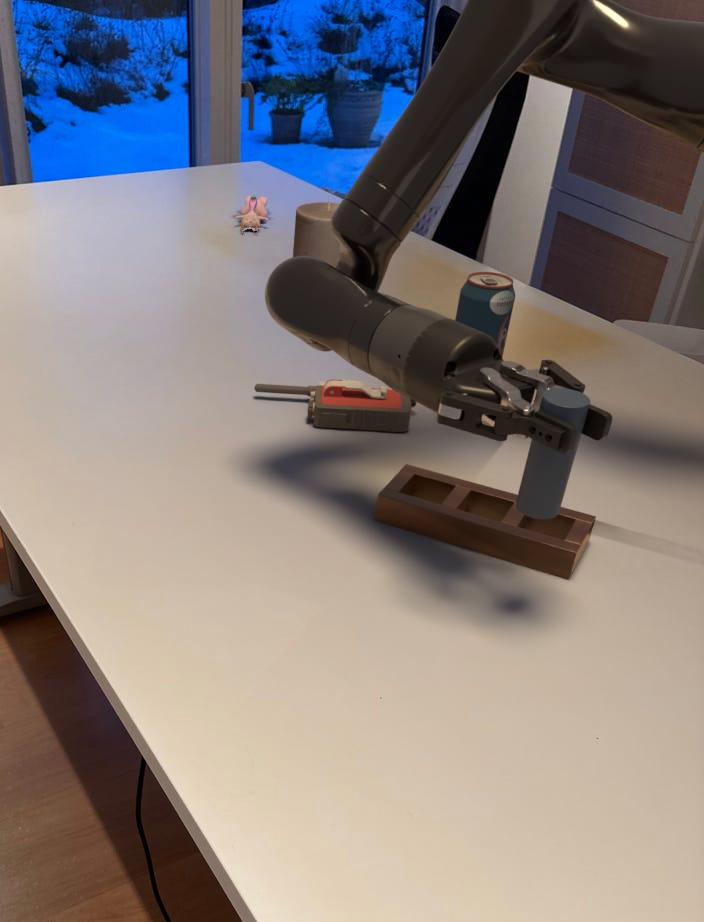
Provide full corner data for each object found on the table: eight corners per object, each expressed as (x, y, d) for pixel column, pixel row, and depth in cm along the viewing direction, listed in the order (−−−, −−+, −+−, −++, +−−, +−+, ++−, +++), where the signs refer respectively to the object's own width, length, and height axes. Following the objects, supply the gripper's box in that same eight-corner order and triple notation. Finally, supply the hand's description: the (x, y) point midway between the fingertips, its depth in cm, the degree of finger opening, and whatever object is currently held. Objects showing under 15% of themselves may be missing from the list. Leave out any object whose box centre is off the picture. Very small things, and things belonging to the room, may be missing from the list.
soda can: (505, 379, 126) (525, 288, 119) (454, 379, 126) (471, 287, 118) (490, 359, 132) (509, 270, 124) (441, 359, 131) (456, 270, 124)
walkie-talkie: (413, 403, 120) (254, 394, 121) (418, 370, 117) (256, 360, 118) (418, 435, 113) (249, 424, 114) (423, 400, 110) (251, 389, 111)
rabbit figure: (265, 242, 176) (273, 207, 186) (266, 210, 172) (275, 176, 182) (232, 240, 176) (241, 205, 186) (232, 208, 172) (242, 174, 182)
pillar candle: (280, 297, 149) (286, 194, 140) (337, 292, 152) (347, 190, 142) (303, 319, 142) (311, 212, 133) (362, 313, 145) (374, 207, 135)
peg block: (402, 488, 103) (406, 463, 101) (588, 542, 95) (596, 516, 93) (374, 520, 98) (377, 494, 96) (568, 579, 90) (577, 552, 88)
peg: (563, 505, 81) (595, 394, 75) (552, 524, 79) (584, 411, 72) (522, 493, 83) (549, 384, 76) (510, 511, 80) (537, 400, 74)
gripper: (377, 334, 79) (540, 411, 68) (495, 303, 86) (660, 369, 75) (367, 418, 84) (518, 502, 73) (479, 382, 90) (632, 455, 79)
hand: (589, 434), depth 74 cm, fingers closed on peg, 3 cm apart
